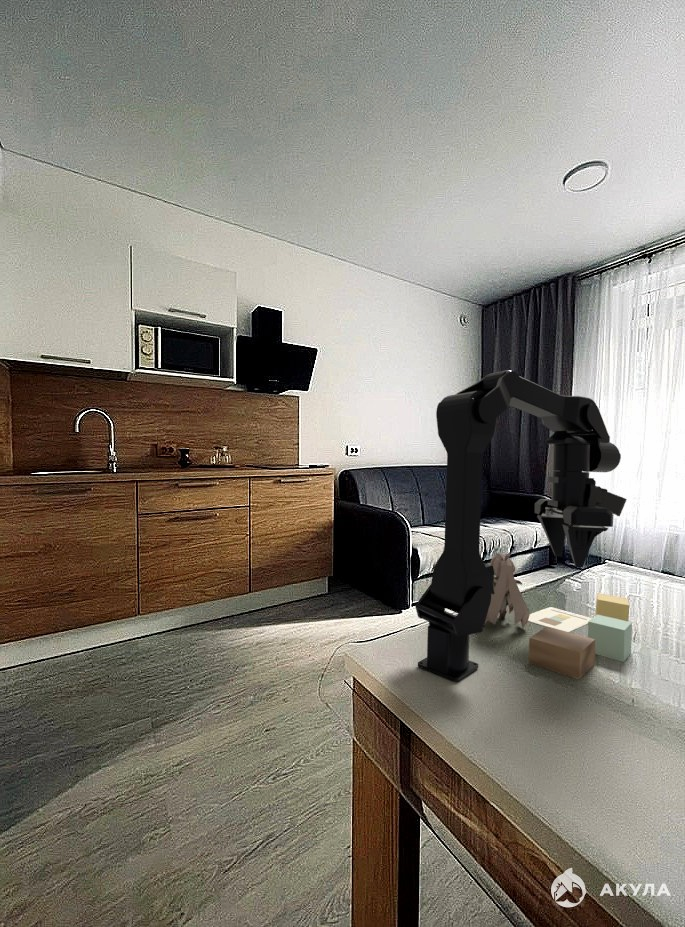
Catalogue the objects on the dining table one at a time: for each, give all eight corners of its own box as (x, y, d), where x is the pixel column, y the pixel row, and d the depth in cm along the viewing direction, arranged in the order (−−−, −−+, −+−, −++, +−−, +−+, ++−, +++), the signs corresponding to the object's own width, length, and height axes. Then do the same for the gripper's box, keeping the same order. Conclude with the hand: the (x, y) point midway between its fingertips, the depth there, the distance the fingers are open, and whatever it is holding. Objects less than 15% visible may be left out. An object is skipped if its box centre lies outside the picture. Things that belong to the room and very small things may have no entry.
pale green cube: (623, 663, 68) (624, 630, 68) (587, 652, 71) (588, 621, 71) (631, 653, 71) (631, 622, 71) (596, 644, 75) (597, 614, 75)
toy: (517, 612, 88) (526, 543, 83) (529, 641, 80) (540, 567, 75) (470, 609, 89) (476, 541, 84) (478, 638, 81) (485, 564, 76)
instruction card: (566, 633, 79) (566, 632, 79) (519, 618, 86) (519, 617, 86) (596, 620, 86) (596, 619, 86) (550, 607, 93) (550, 606, 93)
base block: (579, 681, 62) (580, 652, 62) (528, 664, 67) (529, 637, 67) (594, 666, 67) (595, 639, 67) (546, 651, 72) (547, 626, 72)
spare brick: (627, 633, 80) (629, 605, 80) (595, 626, 82) (597, 599, 82) (625, 624, 84) (627, 598, 84) (594, 618, 87) (596, 592, 87)
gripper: (651, 474, 68) (648, 577, 68) (594, 472, 86) (592, 553, 86) (574, 471, 69) (570, 573, 69) (534, 470, 87) (532, 550, 87)
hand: (567, 561), depth 78 cm, fingers open, 9 cm apart
